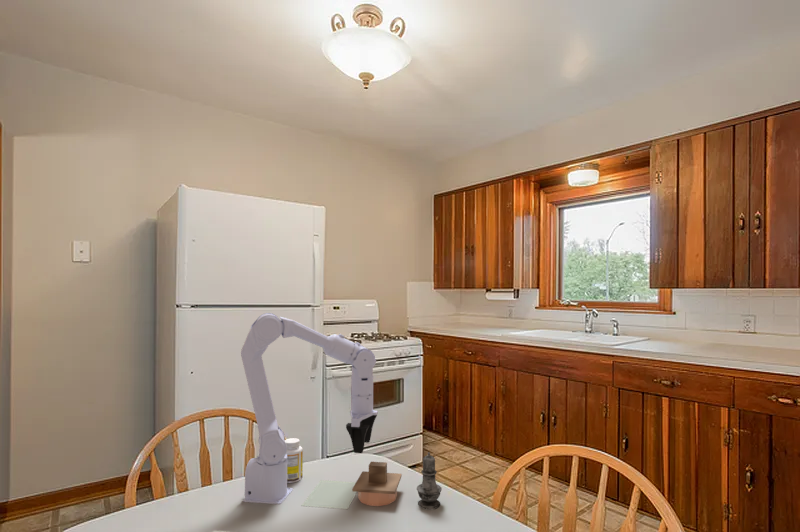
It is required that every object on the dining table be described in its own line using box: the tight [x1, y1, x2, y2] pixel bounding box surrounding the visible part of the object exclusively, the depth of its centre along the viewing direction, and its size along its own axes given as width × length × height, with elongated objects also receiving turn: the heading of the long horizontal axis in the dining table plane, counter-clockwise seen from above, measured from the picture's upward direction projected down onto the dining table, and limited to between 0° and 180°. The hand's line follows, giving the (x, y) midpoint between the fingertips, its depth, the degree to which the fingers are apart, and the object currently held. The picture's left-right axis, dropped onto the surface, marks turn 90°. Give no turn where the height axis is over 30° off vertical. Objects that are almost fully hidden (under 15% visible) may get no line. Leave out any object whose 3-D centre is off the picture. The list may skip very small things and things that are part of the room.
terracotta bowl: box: [357, 489, 398, 507], centre depth 109 cm, size 9×9×4 cm
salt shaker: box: [416, 451, 442, 511], centre depth 106 cm, size 6×6×12 cm
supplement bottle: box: [284, 437, 304, 484], centre depth 120 cm, size 6×6×10 cm
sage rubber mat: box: [301, 479, 358, 510], centre depth 111 cm, size 11×14×1 cm
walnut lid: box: [352, 461, 403, 494], centre depth 109 cm, size 10×10×5 cm
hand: (362, 447), depth 117 cm, fingers open, 7 cm apart
